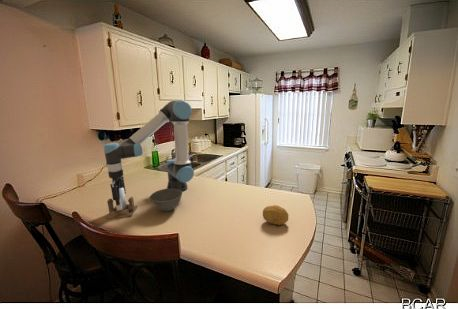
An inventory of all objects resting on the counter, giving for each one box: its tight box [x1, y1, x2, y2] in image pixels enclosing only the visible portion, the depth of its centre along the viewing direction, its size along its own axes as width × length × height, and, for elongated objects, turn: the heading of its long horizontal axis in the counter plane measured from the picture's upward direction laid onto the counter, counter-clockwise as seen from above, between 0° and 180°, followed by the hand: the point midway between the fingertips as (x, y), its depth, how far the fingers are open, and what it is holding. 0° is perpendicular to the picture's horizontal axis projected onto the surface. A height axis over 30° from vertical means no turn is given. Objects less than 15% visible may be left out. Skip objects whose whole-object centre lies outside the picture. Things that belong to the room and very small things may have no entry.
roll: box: [114, 188, 127, 210], centre depth 128 cm, size 6×6×12 cm
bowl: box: [149, 188, 183, 212], centre depth 131 cm, size 19×19×10 cm
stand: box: [105, 196, 138, 220], centre depth 129 cm, size 14×12×9 cm
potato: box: [262, 204, 289, 226], centre depth 112 cm, size 10×13×9 cm
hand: (121, 206), depth 130 cm, fingers open, 6 cm apart
